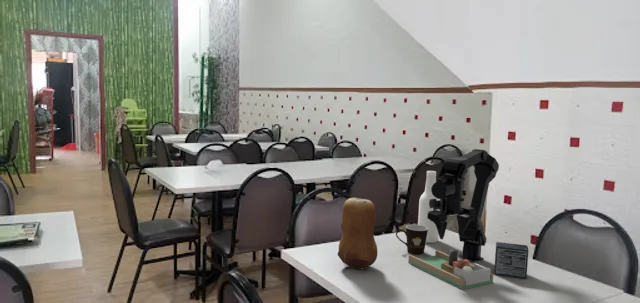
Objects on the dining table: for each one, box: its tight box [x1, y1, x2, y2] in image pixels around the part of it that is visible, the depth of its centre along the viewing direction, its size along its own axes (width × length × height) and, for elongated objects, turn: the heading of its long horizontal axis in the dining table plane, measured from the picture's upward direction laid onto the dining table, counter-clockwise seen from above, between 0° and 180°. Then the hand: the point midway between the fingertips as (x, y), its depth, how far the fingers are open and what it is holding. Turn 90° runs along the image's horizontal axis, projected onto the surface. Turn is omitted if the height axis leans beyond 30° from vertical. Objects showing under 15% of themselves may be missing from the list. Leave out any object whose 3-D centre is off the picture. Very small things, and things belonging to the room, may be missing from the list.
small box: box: [493, 241, 530, 280], centre depth 170 cm, size 11×6×10 cm, turn 71°
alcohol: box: [417, 170, 441, 244], centre depth 206 cm, size 9×9×30 cm
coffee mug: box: [395, 224, 428, 256], centre depth 192 cm, size 12×9×10 cm
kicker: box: [441, 249, 470, 275], centre depth 168 cm, size 6×8×7 cm
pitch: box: [407, 249, 494, 290], centre depth 170 cm, size 14×27×5 cm, turn 29°
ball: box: [462, 266, 473, 272], centre depth 163 cm, size 4×4×4 cm
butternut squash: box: [337, 197, 378, 270], centre depth 171 cm, size 14×13×25 cm
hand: (450, 237), depth 172 cm, fingers open, 9 cm apart
